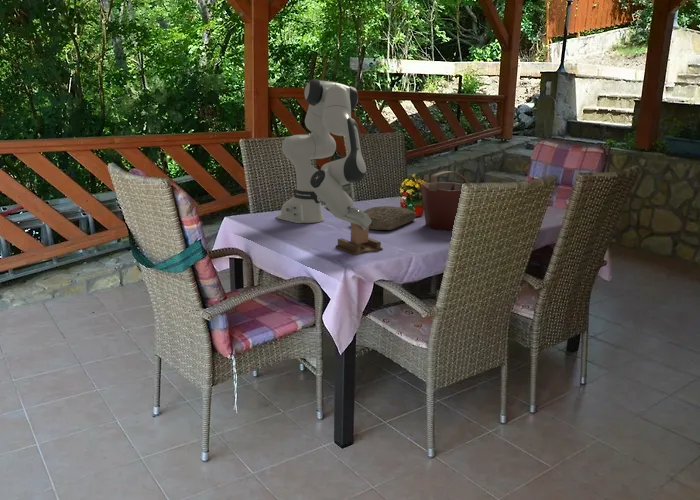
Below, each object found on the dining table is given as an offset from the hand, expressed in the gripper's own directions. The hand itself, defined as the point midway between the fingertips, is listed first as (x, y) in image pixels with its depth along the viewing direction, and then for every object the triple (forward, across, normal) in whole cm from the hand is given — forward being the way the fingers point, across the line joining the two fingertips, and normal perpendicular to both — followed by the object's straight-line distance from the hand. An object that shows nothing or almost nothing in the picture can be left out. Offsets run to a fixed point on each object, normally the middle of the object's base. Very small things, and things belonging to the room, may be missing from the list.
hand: (361, 227), depth 245 cm
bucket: (+46, +11, -33) cm, 58 cm away
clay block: (+4, 0, +5) cm, 6 cm away
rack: (+6, 0, +6) cm, 9 cm away
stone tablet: (+31, +28, -18) cm, 46 cm away
